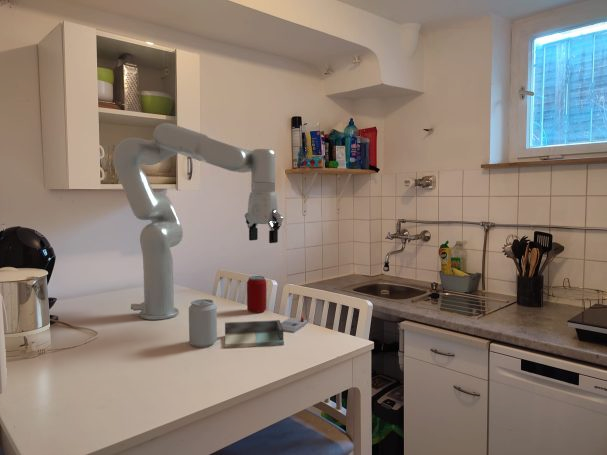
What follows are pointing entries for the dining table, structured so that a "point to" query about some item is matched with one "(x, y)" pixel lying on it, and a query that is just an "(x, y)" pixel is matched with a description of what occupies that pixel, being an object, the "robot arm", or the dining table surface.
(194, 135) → the robot arm
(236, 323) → the grey green tray
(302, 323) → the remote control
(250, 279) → the beverage can
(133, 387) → the dining table surface
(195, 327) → the can
